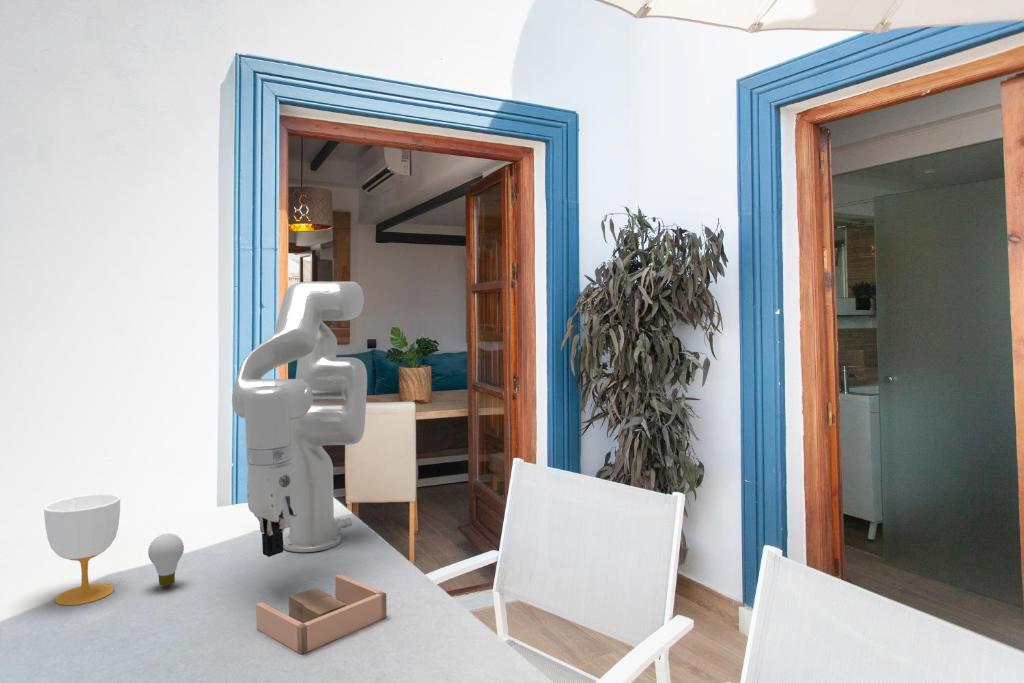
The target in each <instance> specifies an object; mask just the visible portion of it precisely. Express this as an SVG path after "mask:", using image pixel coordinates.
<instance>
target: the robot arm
mask: <svg viewBox="0 0 1024 683" xmlns="http://www.w3.org/2000/svg"><path fill="white" fill-rule="evenodd" d="M364 303H365V296H364V292H363V289H362V287H361V285H359V283H358V282H356V281H301V282H296V283H293V284H291V285H289V287H287V289H286V290H285V292H284V294H283V298H282V302H281V305H280V309H279V312H278V316H277V320H276V325H275V326H274V327H275V329H274V332H273V334H272V335H271V336H270V337H268V338H267V339H265V340H264V341H262V342H261V343H260V344H258V345H257V346H256V347H255V348H254V349H252V351H251V352H249V353H248V354H247V356H245V358H244V359H243V361H242V362H241V364H240V367H239V369H238V372H237V375H236V379H235V382H234V385H233V390H232V394H231V395H232V396H231V404H232V405H231V406H232V408H233V411H234V413H235V414H236V415H237V416H238V417H240V418H243V419H244V420H245V421H244V423H245V425H244V426H245V444H246V445H245V446H246V465H247V478H246V479H247V482H246V483H247V486H246V487H247V488H246V491H247V494H246V496H247V506H248V510H249V511H250V512H251V513H252V514H253V516H254V517H255V518H257V520H258V523H259V530H260V532H261V542H262V544H261V545H262V547H261V548H262V554H263V555H264V556H265V557H267V558H270V557H272V556H276V555H279V554H281V553H283V552H284V550H286V551H288V552H292V553H313V552H314V553H315V552H319V551H325V550H329V549H332V548H334V547H335V546H337V545H339V544H340V543H341V541H342V535H341V534H340V531H341V530H342V529H344V528H349V527H351V526H352V525H353V520H352V518H350V517H347V518H344V519H342V520H341V518H334V517H335V515H334V511H335V510H334V509H335V508H334V505H335V504H334V465H333V462H332V461H333V460H332V458H331V456H330V455H329V454H328V452H327V451H326V450H325V449H324V446H345V445H346V446H347V445H348V446H349V445H350V446H351V445H356V444H358V443H359V442H361V440H362V439H363V437H364V432H365V426H366V425H365V424H366V409H367V406H366V405H367V395H368V394H367V392H368V372H367V368H366V365H365V364H364V362H363V361H362V360H361V359H359V358H357V357H346V356H345V357H342V356H341V357H340V356H339V357H337V349H338V339H337V337H336V335H335V334H334V332H333V331H332V329H330V328H329V326H328V325H327V324H326V323H324V322H328V321H329V322H331V321H333V322H334V321H335V322H339V321H342V322H343V321H344V322H345V321H350V320H353V319H355V318H358V317H359V316H360V315H361V313H362V311H363V309H364V305H365V304H364ZM294 361H297V363H296V373H295V378H269V379H268V378H264V376H265V375H266V374H268V373H269V372H271V371H273V370H274V369H276V368H278V367H282V366H284V365H286V364H290V363H291V362H294ZM333 399H334V400H336V399H337V400H339V399H342V400H344V401H341V402H340V401H338V402H337V401H334V402H333V401H332V402H329V401H328V402H327V401H316V402H314V400H333ZM288 528H289V534H288V535H287V536H286V537H284V531H285V530H286V529H288Z"/></svg>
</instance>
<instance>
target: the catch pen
mask: <svg viewBox="0 0 1024 683" xmlns="http://www.w3.org/2000/svg"><path fill="white" fill-rule="evenodd" d="M334 580H335V582H334V584H335V588H334V589H335V590H334V591H335V599H337V600H339V601H341V602H343V603H345V604H347V606H346V607H343V608H341V609H338V610H336V611H333V612H331V613H328V614H326V615H323V616H321V617H318V618H316V619H313V620H311V621H308V622H306V623H301V622H299V621H297V620H295V619H294V618H292V617H290V616H289V614H286V613H284V612H282V611H280V610H278V609H276V608H274V607H272V606H270V605H268V604H266V603H264V601H263V602H262V601H261V602H259V603H256V604H255V620H256V621H255V622H256V623H255V624H256V630H258V631H259V632H262V633H263V634H265V635H266V636H269V637H270V638H272V639H274V640H276V641H277V642H279V643H281V644H282V645H285V646H286V647H288V648H289V649H291V650H292V651H294V652H296V653H298V654H300V655H303V654H306V653H308V652H310V651H312V650H315V649H317V648H319V647H322V646H324V645H326V644H329V643H330V642H331V643H332V642H333V641H335V640H337V639H340V638H342V637H344V636H346V635H348V634H351V633H354V632H356V631H359V630H361V629H362V628H365V627H367V626H369V625H371V624H374V623H376V622H378V621H381V620H383V619H385V618H387V616H388V614H387V593H386V592H384V591H382V590H379V589H377V588H375V587H372V586H370V585H367V584H364V583H362V582H360V581H357V580H355V579H352V578H350V577H347V576H345V575H342V574H338V575H335V576H334Z"/></svg>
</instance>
